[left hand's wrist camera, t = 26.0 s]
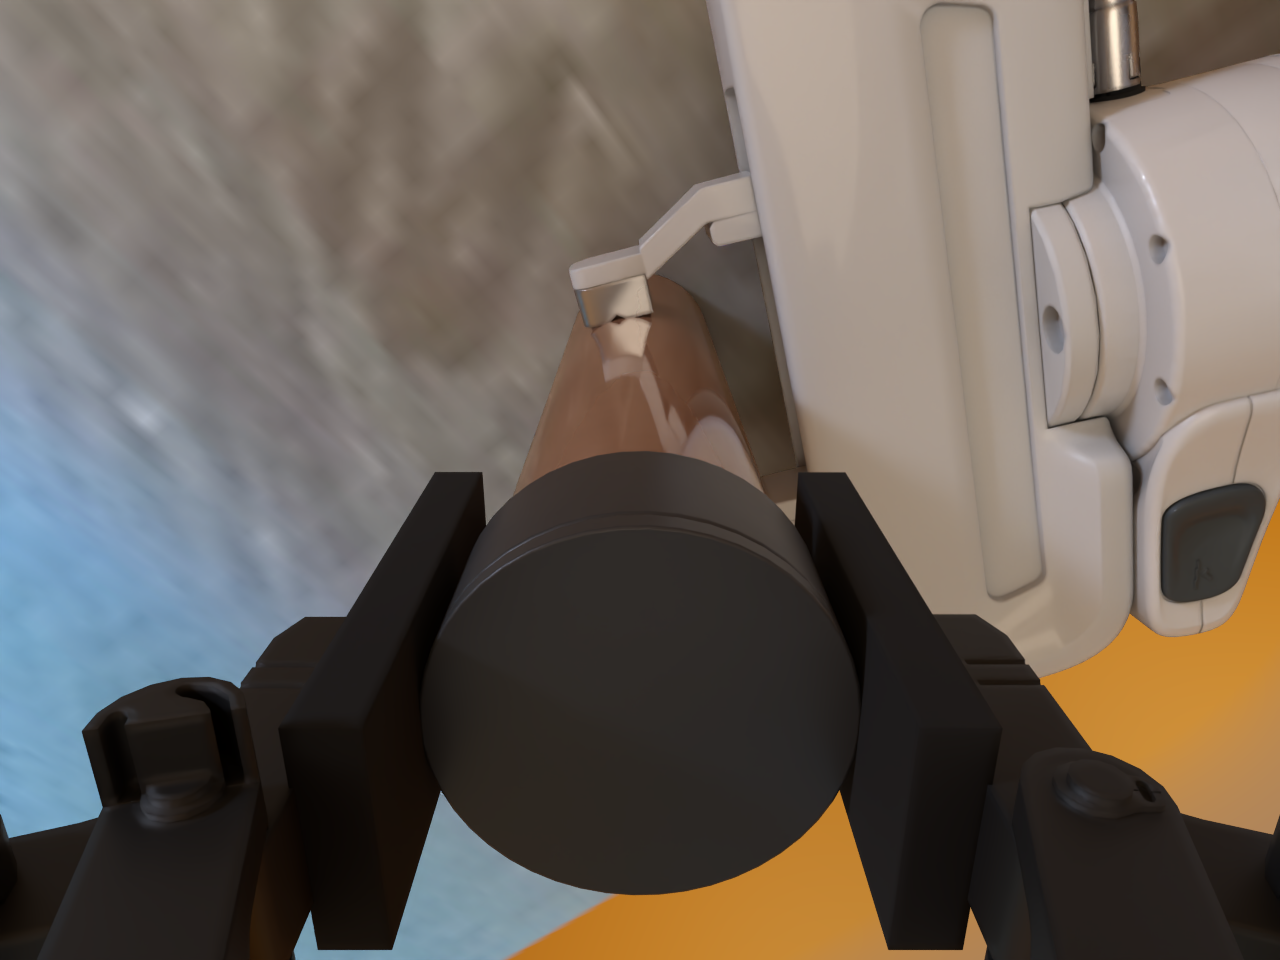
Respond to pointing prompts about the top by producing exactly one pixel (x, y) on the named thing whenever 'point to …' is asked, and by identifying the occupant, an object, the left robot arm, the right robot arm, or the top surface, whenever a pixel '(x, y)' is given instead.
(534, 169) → the top surface
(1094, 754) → the left robot arm
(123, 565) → the top surface
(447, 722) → the lid
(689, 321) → the brown cylinder
